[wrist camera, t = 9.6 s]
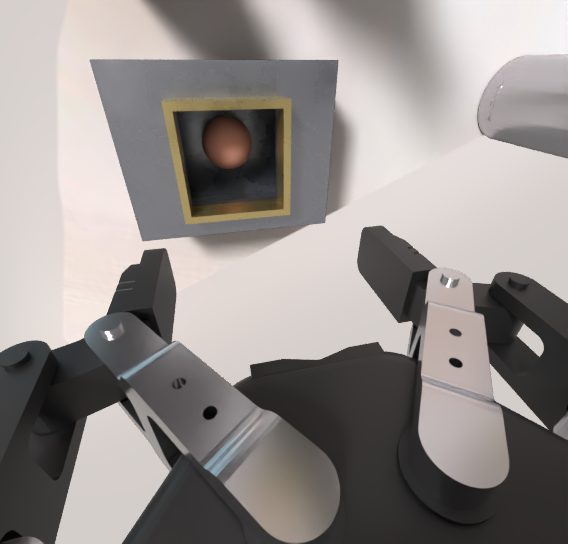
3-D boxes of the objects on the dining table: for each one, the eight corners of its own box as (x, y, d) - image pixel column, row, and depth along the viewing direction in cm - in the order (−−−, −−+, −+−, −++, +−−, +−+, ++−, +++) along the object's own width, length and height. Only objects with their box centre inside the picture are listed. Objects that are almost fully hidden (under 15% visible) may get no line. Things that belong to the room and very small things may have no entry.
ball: (247, 111, 32) (253, 118, 28) (250, 160, 35) (256, 173, 31) (198, 113, 31) (197, 120, 27) (205, 163, 34) (205, 176, 30)
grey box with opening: (306, 61, 31) (351, 59, 22) (301, 193, 39) (333, 233, 30) (117, 60, 28) (77, 59, 19) (154, 205, 36) (138, 254, 27)
